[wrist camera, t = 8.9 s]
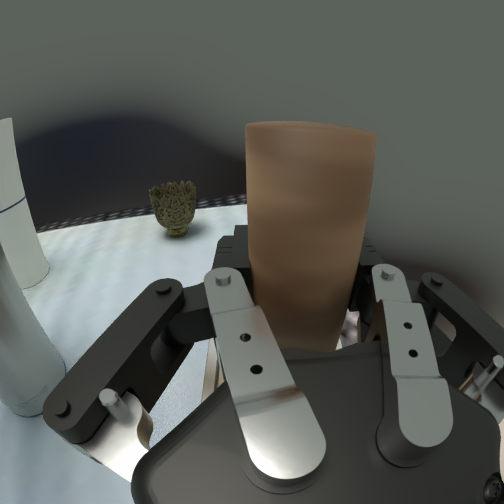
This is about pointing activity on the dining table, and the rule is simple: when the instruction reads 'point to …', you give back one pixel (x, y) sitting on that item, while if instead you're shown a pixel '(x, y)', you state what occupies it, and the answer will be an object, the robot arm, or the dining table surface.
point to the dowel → (306, 225)
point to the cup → (174, 206)
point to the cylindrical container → (17, 217)
